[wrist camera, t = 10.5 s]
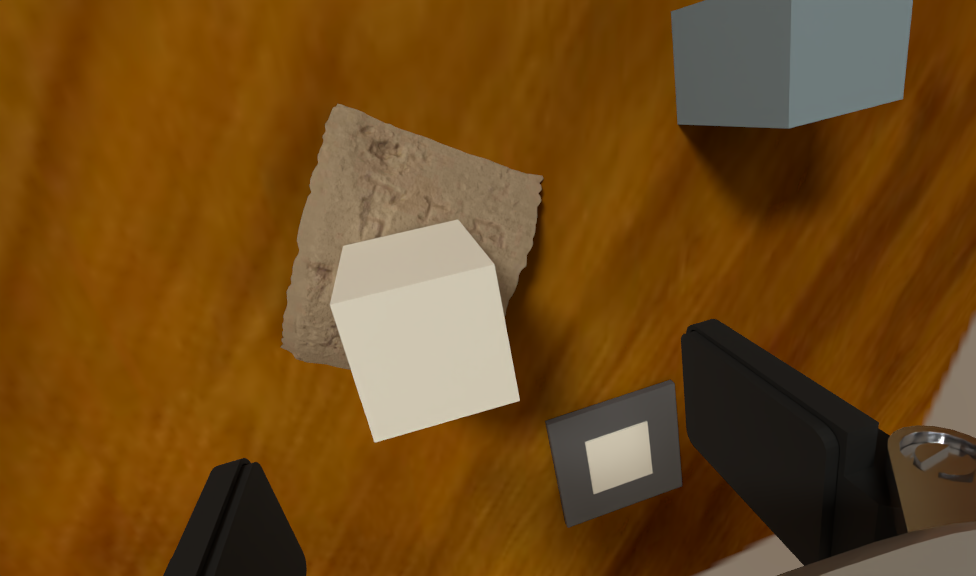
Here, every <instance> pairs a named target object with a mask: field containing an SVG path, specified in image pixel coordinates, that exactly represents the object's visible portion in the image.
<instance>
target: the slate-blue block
mask: <svg viewBox="0 0 976 576" xmlns="http://www.w3.org/2000/svg"><path fill="white" fill-rule="evenodd" d="M912 4H913V0H705V1H702V2H699V3H696V4H693V5H690V6H687V7H684V8H681V9H678V10H675V11H672V12H671V18H672V35H673V52H674V69H675V86H676V103H677V120H678V124H682V125H709V126H735V127H762V128H788V129H789V128H793V127H796V126H800V125H804V124H808V123H812V122H816V121H819V120H823V119H827V118H831V117H835V116H839V115H843V114H846V113H850V112H854V111H858V110H862V109H866V108H870V107H873V106H877V105H881V104H885V103H889V102H893V101H896V100H900V99H903V92H904V82H905V72H906V62H907V53H908V43H909V33H910V23H911V14H912Z"/></svg>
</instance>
